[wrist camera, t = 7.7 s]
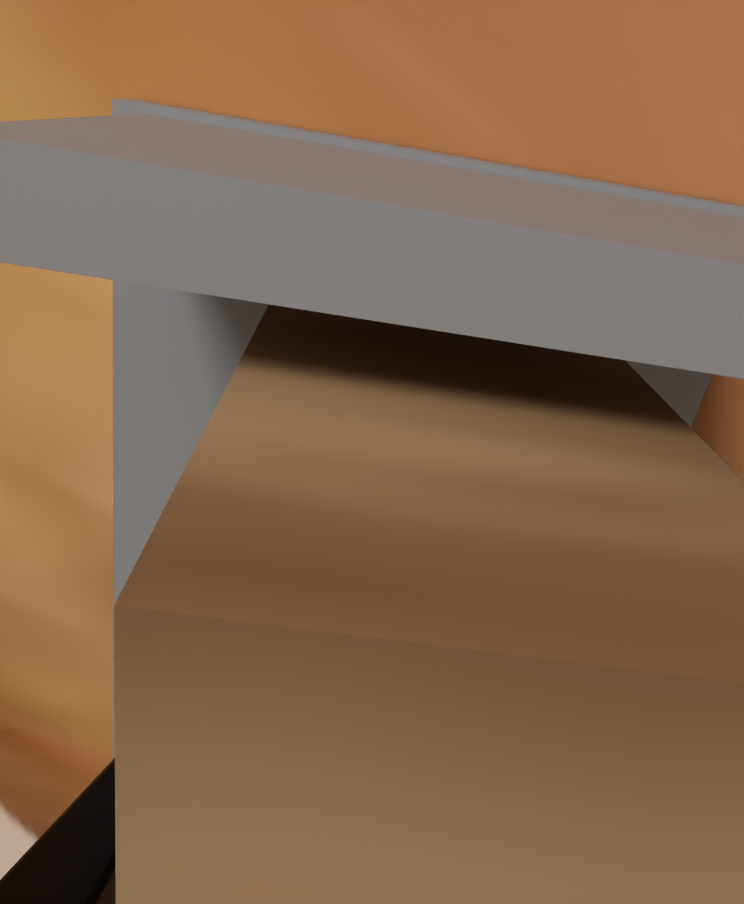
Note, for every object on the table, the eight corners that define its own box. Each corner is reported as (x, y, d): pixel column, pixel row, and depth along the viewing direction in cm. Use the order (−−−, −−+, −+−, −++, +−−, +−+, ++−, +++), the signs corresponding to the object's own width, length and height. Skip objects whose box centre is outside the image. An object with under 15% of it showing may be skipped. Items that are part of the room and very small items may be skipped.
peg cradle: (132, 98, 10) (-161, 94, 4) (748, 206, 10) (1147, 317, 5) (125, 796, 16) (2, 1142, 11) (510, 837, 17) (575, 1184, 11)
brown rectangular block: (431, 912, 13) (468, 1400, 8) (215, 891, 13) (117, 1383, 8) (614, 348, 8) (969, 709, 3) (273, 295, 8) (114, 605, 3)
